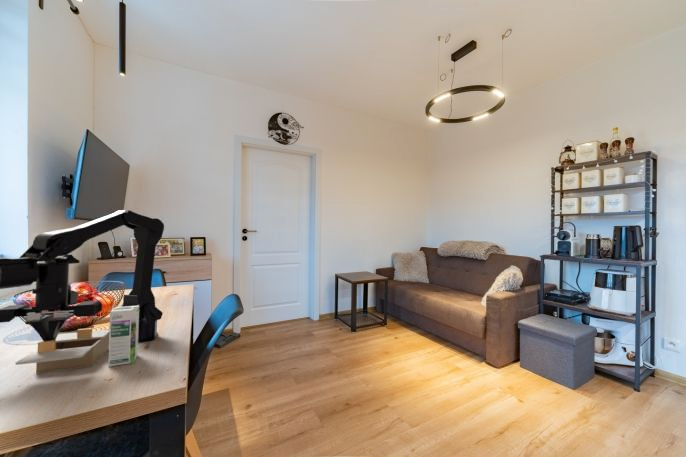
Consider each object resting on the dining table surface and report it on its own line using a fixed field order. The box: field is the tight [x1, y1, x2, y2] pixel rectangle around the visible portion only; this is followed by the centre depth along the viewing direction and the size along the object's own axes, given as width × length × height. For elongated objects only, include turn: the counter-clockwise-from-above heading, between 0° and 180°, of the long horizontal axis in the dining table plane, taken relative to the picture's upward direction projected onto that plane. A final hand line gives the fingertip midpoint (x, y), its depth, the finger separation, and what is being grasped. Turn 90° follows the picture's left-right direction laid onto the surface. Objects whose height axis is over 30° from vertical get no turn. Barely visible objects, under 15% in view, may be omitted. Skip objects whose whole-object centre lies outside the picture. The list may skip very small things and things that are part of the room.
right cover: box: [56, 327, 110, 343], centre depth 81 cm, size 12×6×3 cm, turn 113°
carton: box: [35, 334, 109, 374], centre depth 78 cm, size 11×12×5 cm
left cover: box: [15, 340, 93, 366], centre depth 69 cm, size 12×6×3 cm, turn 113°
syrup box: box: [107, 305, 139, 368], centre depth 78 cm, size 6×6×14 cm
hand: (50, 345), depth 72 cm, fingers closed, pressing on left cover
